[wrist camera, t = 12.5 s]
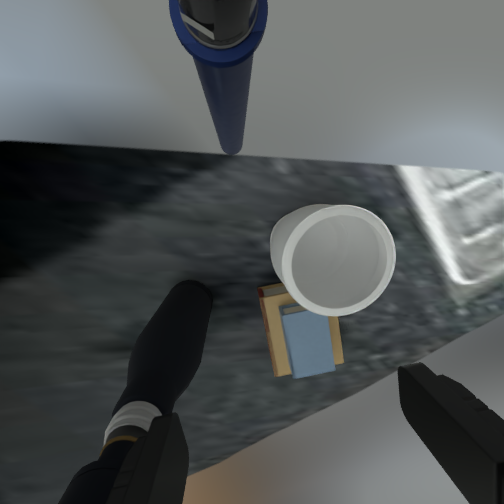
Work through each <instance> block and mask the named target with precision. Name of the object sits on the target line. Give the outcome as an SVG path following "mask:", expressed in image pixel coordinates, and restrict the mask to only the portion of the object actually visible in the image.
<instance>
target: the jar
mask: <svg viewBox="0 0 504 504" xmlns="http://www.w3.org/2000/svg"><path fill="white" fill-rule="evenodd" d="M270 254H271V261H272V264H273V267H274V270H275V272H276V274H277V276H278V277H279V279H280V280H281V281H282V283H283V284H284V285H285V287H286V289H287V291H288V292H289V294H290V295H291V296H292V298H293V299H294V300H295V301H296V302H298V303H299V304H300V305H301V306H302V307H304V308H305V309H307V310H309V311H311V312H313V313H316V314H319V315H324V316H344V315H349V314H352V313H355V312H357V311H360V310H362V309H364V308H365V307H367V306H368V305H370V304H371V303H372V302H374V301H375V300H376V299H377V298H378V297H379V296H380V295H381V294H382V292H383V291H384V290H385V288H386V287H387V285H388V283H389V282H390V279H391V277H392V274H393V271H394V267H395V261H396V251H395V244H394V240H393V237H392V235H391V233H390V231H389V229H388V228H387V226H386V225H385V224H384V222H383V221H382V220H381V219H380V218H379V217H377V216H376V215H375V214H373V213H372V212H370V211H368V210H366V209H364V208H361V207H357V206H352V205H329V204H314V205H308V206H305V207H302V208H299V209H297V210H295V211H293V212H292V213H289V214H287V215H285V216H284V217H282V218H281V219H280V220H279V221H278V222H277V223H276V225H275V226H274V228H273V230H272V233H271V237H270Z"/></svg>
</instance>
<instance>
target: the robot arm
mask: <svg viewBox="0 0 504 504" xmlns="http://www.w3.org/2000/svg"><path fill="white" fill-rule="evenodd" d="M177 1H178V5H179V10H180V14H181V17H182V20H183V23H184V25H185V27H186V29H187V31H188V32H189V34H190V35H191V36H192V37H193V38H194V39H195V40H196V41H197V42H198V43H199V44H201V45H203V46H204V47H206V48H209V49H212V50H218V51H224V50H229V49H233V48H235V47H237V46H239V45H240V44H241V43H243V42H244V41H245V40H246V39H247V38H248V36H249V35H250V33H251V32H252V30H253V28H254V25H255V22H256V18H257V11H258V0H177ZM398 381H399V394H400V404H401V408H402V411H403V413H404V415H405V417H406V419H407V421H408V422H409V424H410V425H411V426H412V428H413V429H414V430H415V432H416V433H417V435H418V436H419V437H420V439H421V440H422V441H423V442H424V444H425V445H426V446H427V448H428V449H429V450H430V452H431V453H432V454H433V456H434V457H435V458H436V460H437V461H438V462H439V464H440V465H441V466H442V468H443V469H444V470H445V472H446V473H447V474H448V476H449V477H450V478H451V480H452V481H453V482H454V484H455V485H456V486H457V488H458V489H459V490H460V491H461V493H462V494H463V495H464V497H465V498H466V499H467V501H468V502H469V503H470V504H504V420H503V419H502V418H501V417H500V416H498V415H497V414H496V413H495V412H494V411H493V410H490V409H489V408H488V406H487V405H485V404H484V403H483V402H482V401H481V400H479V399H476V397H475V395H473V394H472V393H471V392H470V391H469V390H468V389H466V388H465V387H464V386H463V385H462V384H460V383H458V382H456V381H454V380H453V379H451V378H449V377H446V376H444V375H438V376H437V375H436V374H434V373H433V372H432V371H431V370H430V369H429V368H428V367H427V366H426V365H424V364H423V363H421V362H419V363H414V364H409V365H404V366H400V367H398ZM188 467H189V452H188V446H187V443H186V439H185V436H184V433H183V429H182V426H181V423H180V419H179V416H178V414H177V413H170V414H165V415H161V416H156V417H154V418H153V420H152V422H151V425H150V427H149V430H148V433H147V435H146V436H142V437H139V438H138V439H137V440H136V442H135V443H134V444H133V445H132V447H131V448H130V449H129V451H128V452H127V454H126V456H125V458H124V461H123V463H122V465H121V468H120V473H118V475H117V477H116V480H115V482H114V484H113V485H114V486H113V488H112V489H111V491H110V494H109V496H108V499H107V501H106V503H105V504H182V502H183V496H184V491H185V485H186V478H187V473H188Z"/></svg>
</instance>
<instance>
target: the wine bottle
mask: <svg viewBox="0 0 504 504" xmlns="http://www.w3.org/2000/svg"><path fill="white" fill-rule="evenodd" d="M211 307H212V296H211V293H210V291H209V290H208V288H207V287H206V286H204V285H203V284H202V283H200V282H197V281H192V280H188V281H182V282H180V283H178V284H176V285H175V286H174V287H173V289H172V290H171V291H170V292H169V294H168V295H167V297H166V298H165V300H164V301H163V303H162V304H161V305H160V307H159V308H158V310H157V311H156V313H155V314H154V315H153V317H152V318H151V320H150V321H149V323H148V324H147V326H146V327H145V328H144V330H143V331H142V333H141V334H140V336H139V337H138V339H137V341H136V343H135V345H134V348H133V351H132V353H131V357H130V361H129V366H128V377H127V387H126V389H125V390H124V392H123V394H122V395H121V397H120V399H119V401H118V402H117V404H116V406H115V408H114V410H113V413H112V420H111V422H110V424H109V425H108V427H107V429H106V431H105V439H104V446H103V449H102V451H101V453H100V457H99V459H98V461H94V462H92V463H90V464H88V465H86V466H84V467H82V468H81V469H80V470H79V471H78V472H77V473H76V474H75V475H74V477H73V479H72V480H71V482H70V484H69V486H68V487H67V489H66V491H65V493H64V494H63V496H62V498H61V500H60V501H59V503H58V504H105V503H106V501H107V499H108V496H109V494H110V491H111V489H112V488H113V486H114V485H113V484H114V482H115V480H116V477H117V475H118V473H120V468H121V465H122V463H123V461H124V458H125V456H126V454H127V452H128V451H129V449H130V448H131V447H132V445H133V444H134V443H135V442H136V440H137V439H138V438H139V437H142V436H146V435H147V433H148V430H149V427H150V425H151V422H152V420H153V418H154V417H156V416H161V415H165V414H170V413H172V410H173V407H174V403H175V401H176V400H177V399H178V398H179V397H180V395H181V394H182V393H183V392H184V391H185V390H186V388H187V387H188V386H189V384H190V382H191V380H192V379H193V377H194V375H195V373H196V371H197V369H198V367H199V365H200V363H201V358H202V353H203V348H204V343H205V338H206V332H207V327H208V322H209V317H210V312H211Z"/></svg>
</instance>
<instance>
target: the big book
mask: <svg viewBox="0 0 504 504" xmlns="http://www.w3.org/2000/svg"><path fill="white" fill-rule="evenodd" d="M257 290H258V295H259V300H260V305H261V310H262V315H263V320H264V325H265V330H266V336H267V341H268V346H269V351H270V356H271V361H272V366H273V370H274V375H275V377H278V376H283V375H288V374H292V373H291V370H290V367H289V363H288V357H287V352H286V346H285V341H284V335H283V330H282V324H281V319H280V313H279V308H278V306H282V305H287V304H292V303H297V302H296V301H295V300H294V299H293V298H292V296H291V295H290V294H289V292H288V291H287V289H286V287H285V285H284V284H283V283H278V284H273V285H268V286H263V287H258V288H257ZM328 321H329V328H330V335H331V343H332V350H333V357H334V364H335V365H336V364H341V363H344V360H343V352H342V344H341V337H340V329H339V322H338V316H328Z"/></svg>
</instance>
